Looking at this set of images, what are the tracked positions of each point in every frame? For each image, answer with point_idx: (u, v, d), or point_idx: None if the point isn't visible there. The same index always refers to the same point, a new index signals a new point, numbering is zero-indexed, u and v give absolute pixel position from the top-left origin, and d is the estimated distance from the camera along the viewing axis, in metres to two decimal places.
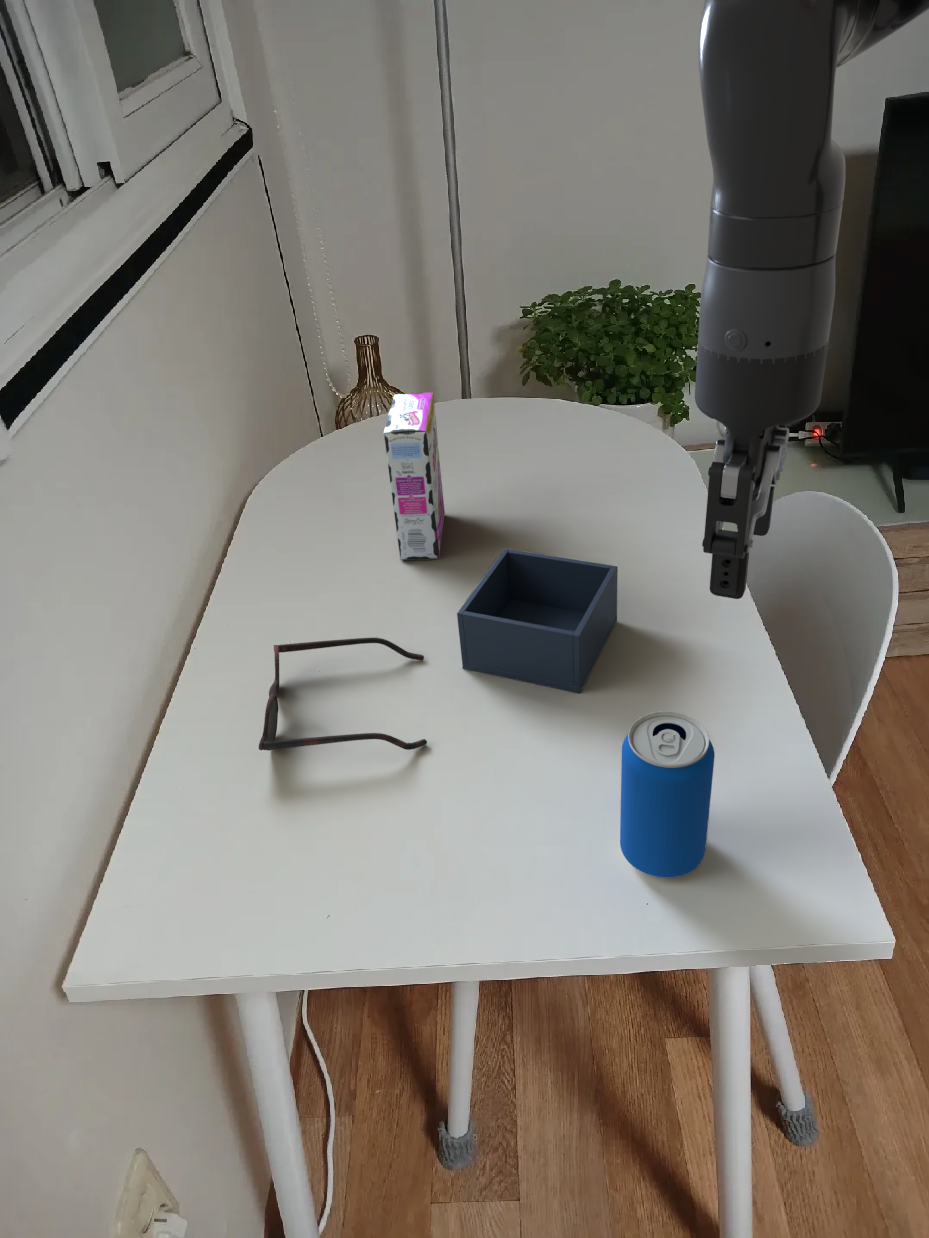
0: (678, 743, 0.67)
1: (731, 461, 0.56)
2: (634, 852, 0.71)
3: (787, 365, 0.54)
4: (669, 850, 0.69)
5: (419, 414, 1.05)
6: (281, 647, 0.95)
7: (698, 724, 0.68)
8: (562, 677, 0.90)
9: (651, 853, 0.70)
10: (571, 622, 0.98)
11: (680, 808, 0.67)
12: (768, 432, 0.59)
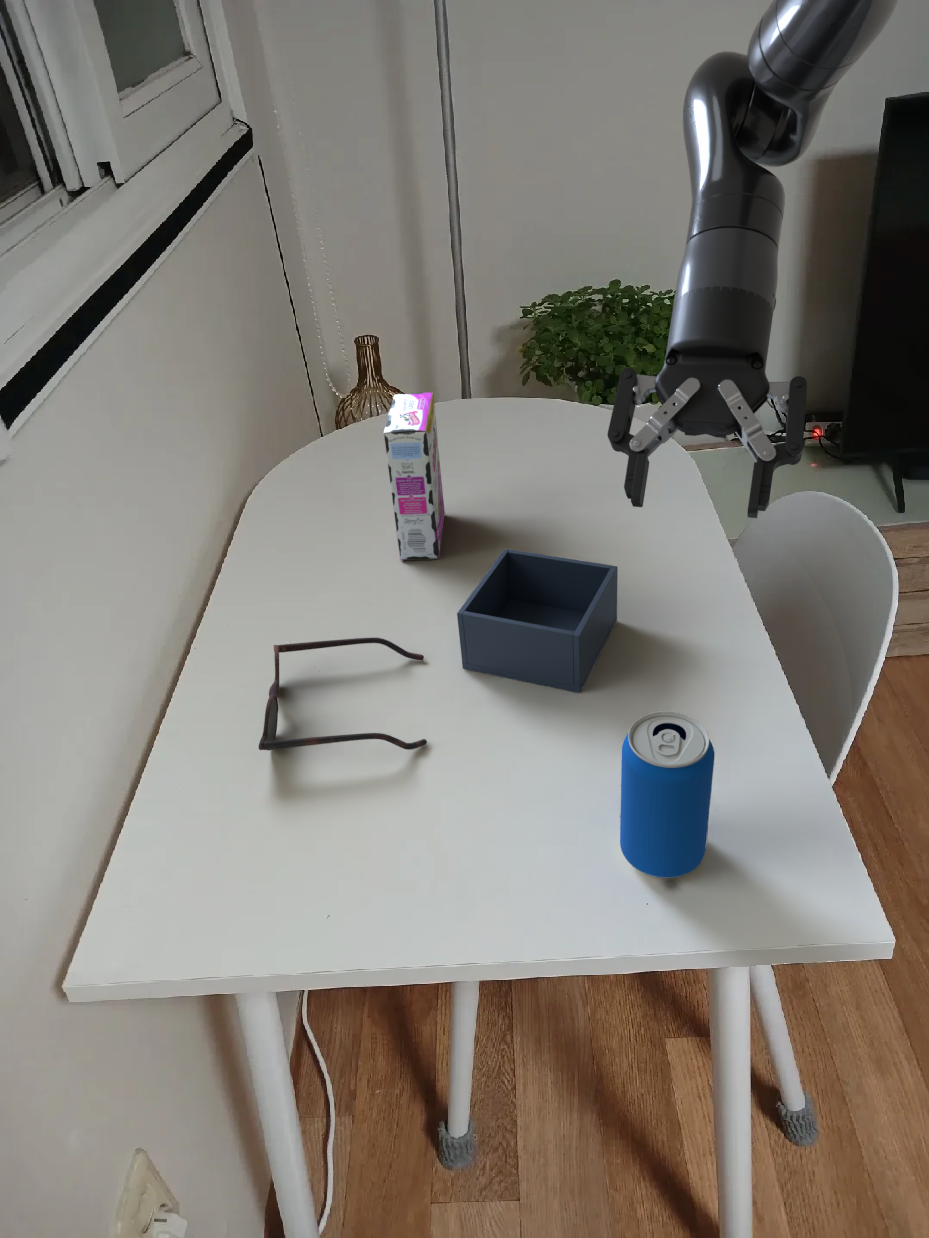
0: (678, 743, 0.67)
1: None
2: (634, 852, 0.71)
3: (678, 302, 0.72)
4: (669, 850, 0.69)
5: (419, 415, 1.05)
6: (281, 647, 0.95)
7: (698, 724, 0.68)
8: (562, 677, 0.90)
9: (651, 853, 0.70)
10: (571, 622, 0.98)
11: (680, 808, 0.67)
12: (696, 372, 0.72)
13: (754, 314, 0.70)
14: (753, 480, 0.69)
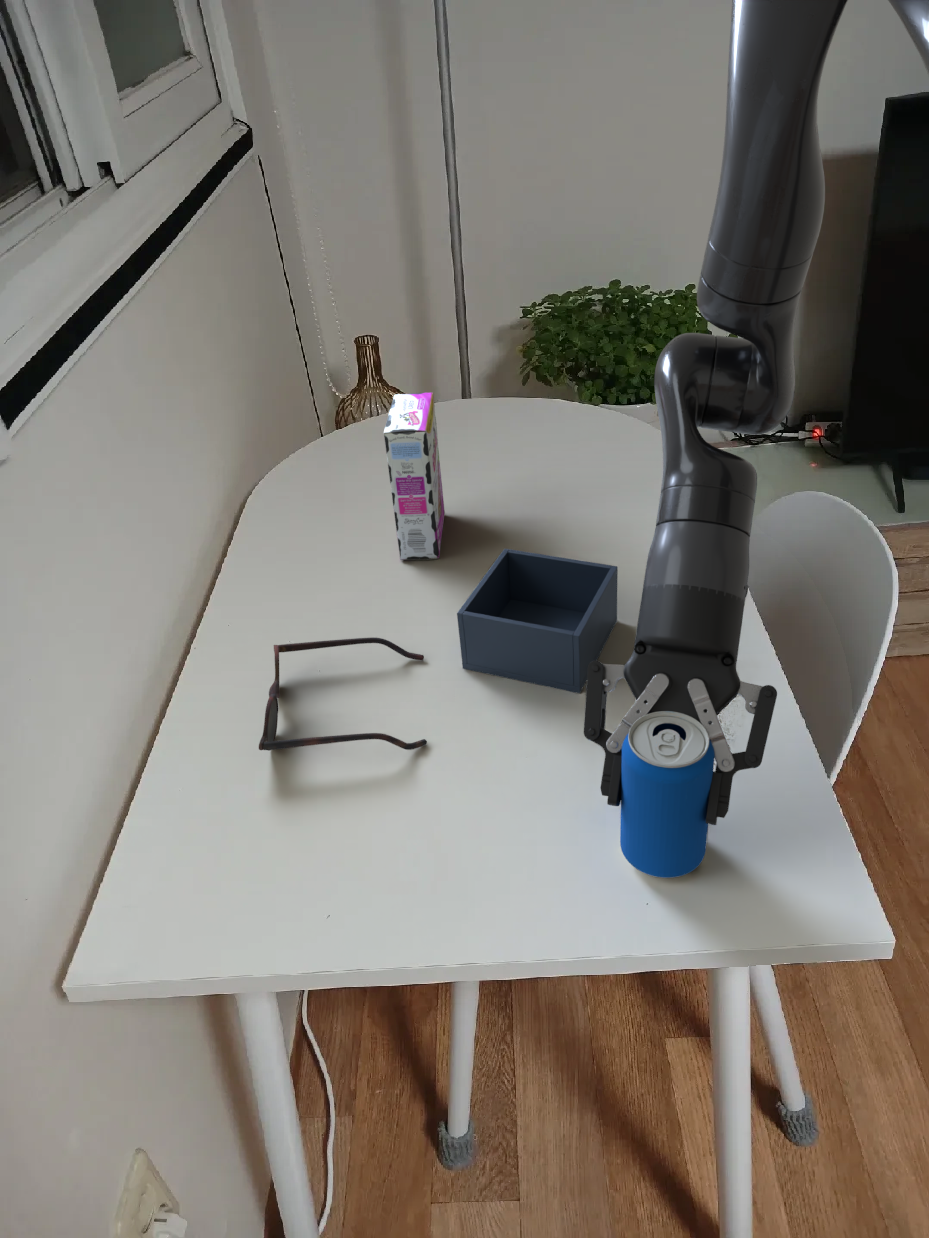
0: (678, 743, 0.67)
1: None
2: (634, 852, 0.71)
3: (647, 591, 0.70)
4: (669, 850, 0.69)
5: (419, 414, 1.05)
6: (281, 647, 0.95)
7: (698, 724, 0.68)
8: (562, 677, 0.90)
9: (651, 853, 0.70)
10: (571, 622, 0.98)
11: (680, 808, 0.67)
12: (665, 664, 0.70)
13: (724, 614, 0.68)
14: (711, 790, 0.68)
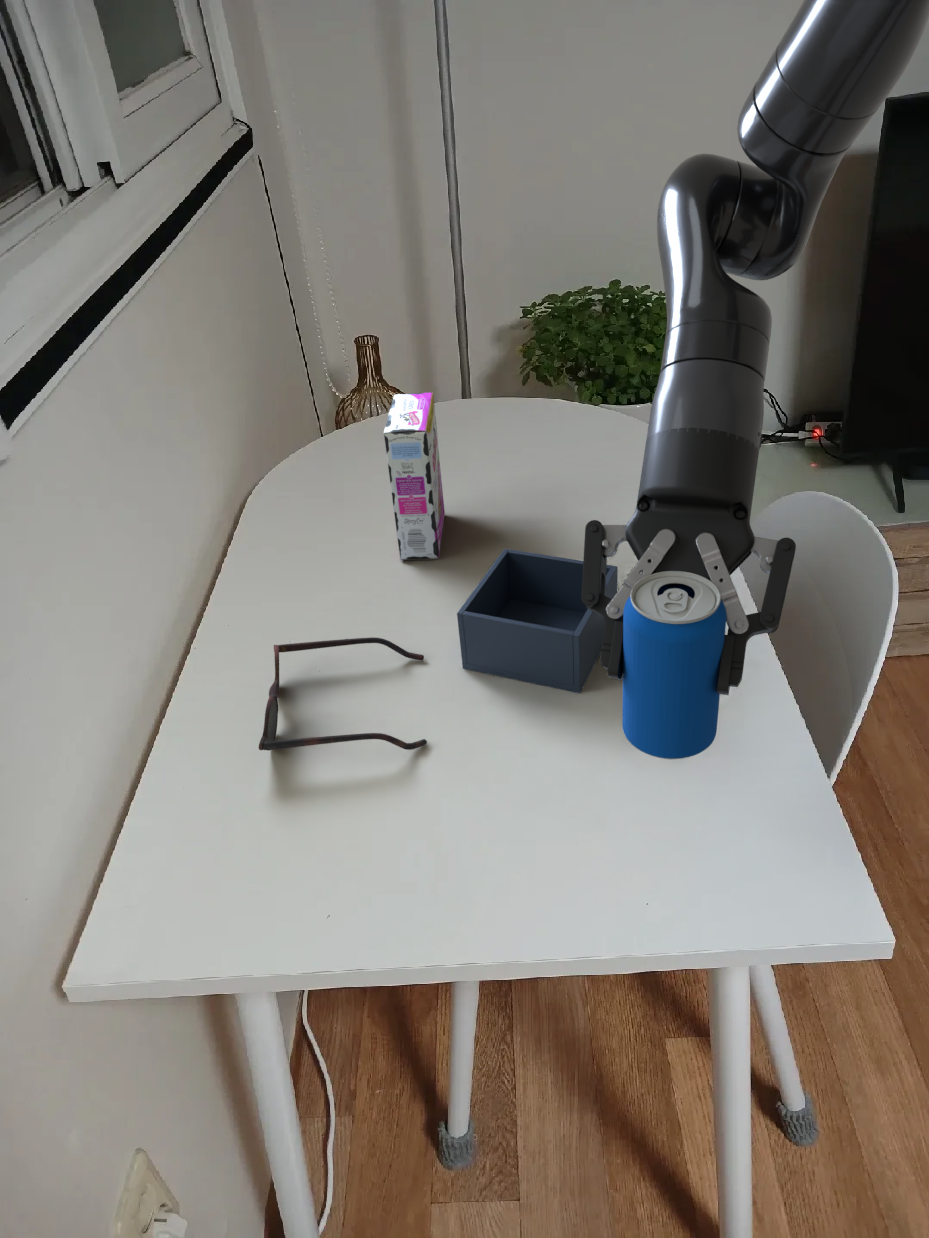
0: (686, 601, 0.60)
1: None
2: (638, 731, 0.64)
3: (650, 441, 0.64)
4: (677, 724, 0.62)
5: (419, 415, 1.05)
6: (281, 647, 0.95)
7: (707, 582, 0.61)
8: (562, 677, 0.90)
9: (657, 730, 0.63)
10: (571, 622, 0.98)
11: (689, 672, 0.60)
12: (671, 521, 0.63)
13: (736, 459, 0.61)
14: (723, 655, 0.61)
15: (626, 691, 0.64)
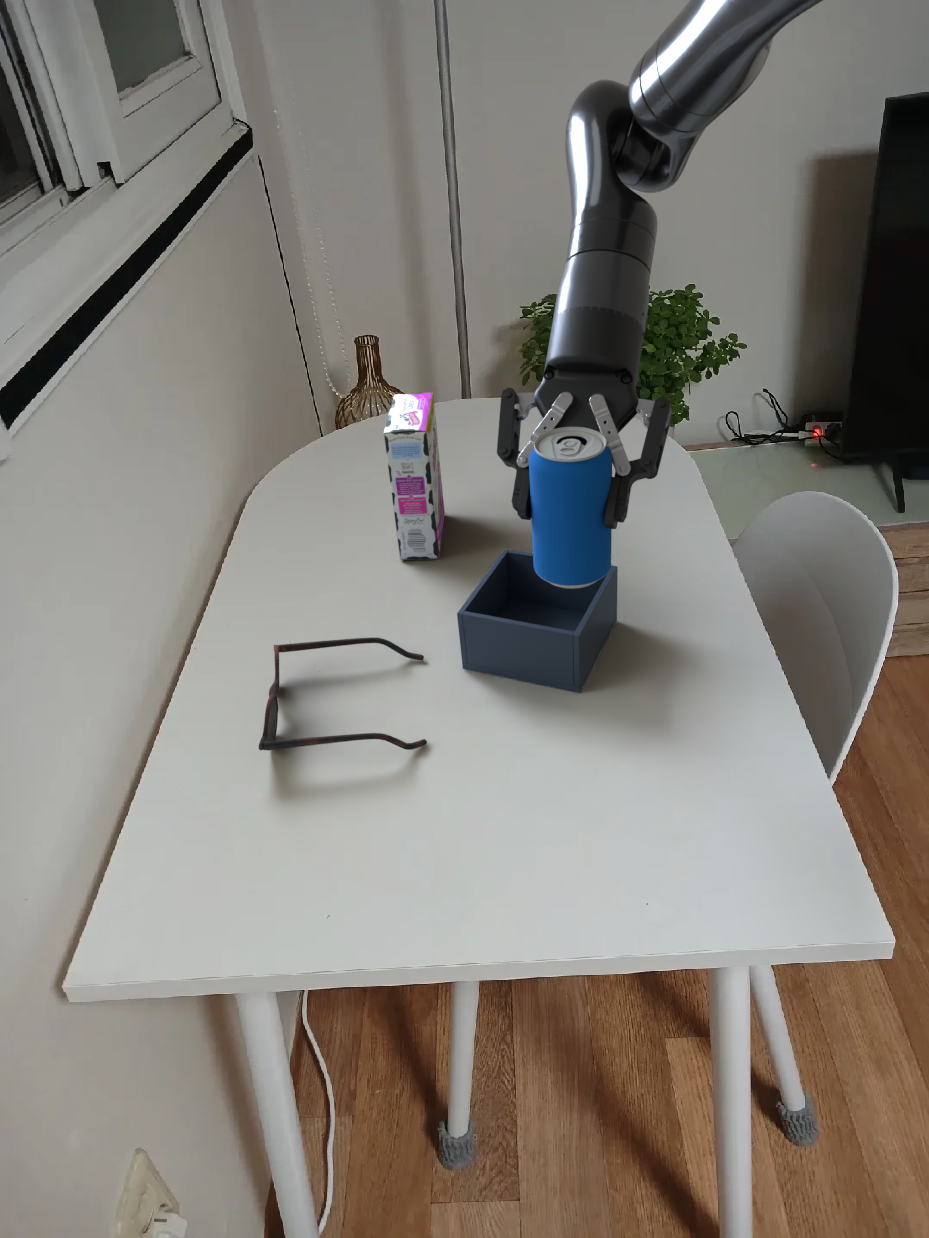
0: (578, 447, 0.73)
1: None
2: (543, 563, 0.77)
3: (554, 320, 0.77)
4: (573, 554, 0.76)
5: (419, 414, 1.05)
6: (281, 647, 0.95)
7: (598, 434, 0.74)
8: (562, 677, 0.90)
9: (558, 559, 0.76)
10: (571, 622, 0.98)
11: (580, 505, 0.73)
12: (571, 387, 0.76)
13: (622, 332, 0.74)
14: (610, 493, 0.74)
15: (533, 529, 0.77)
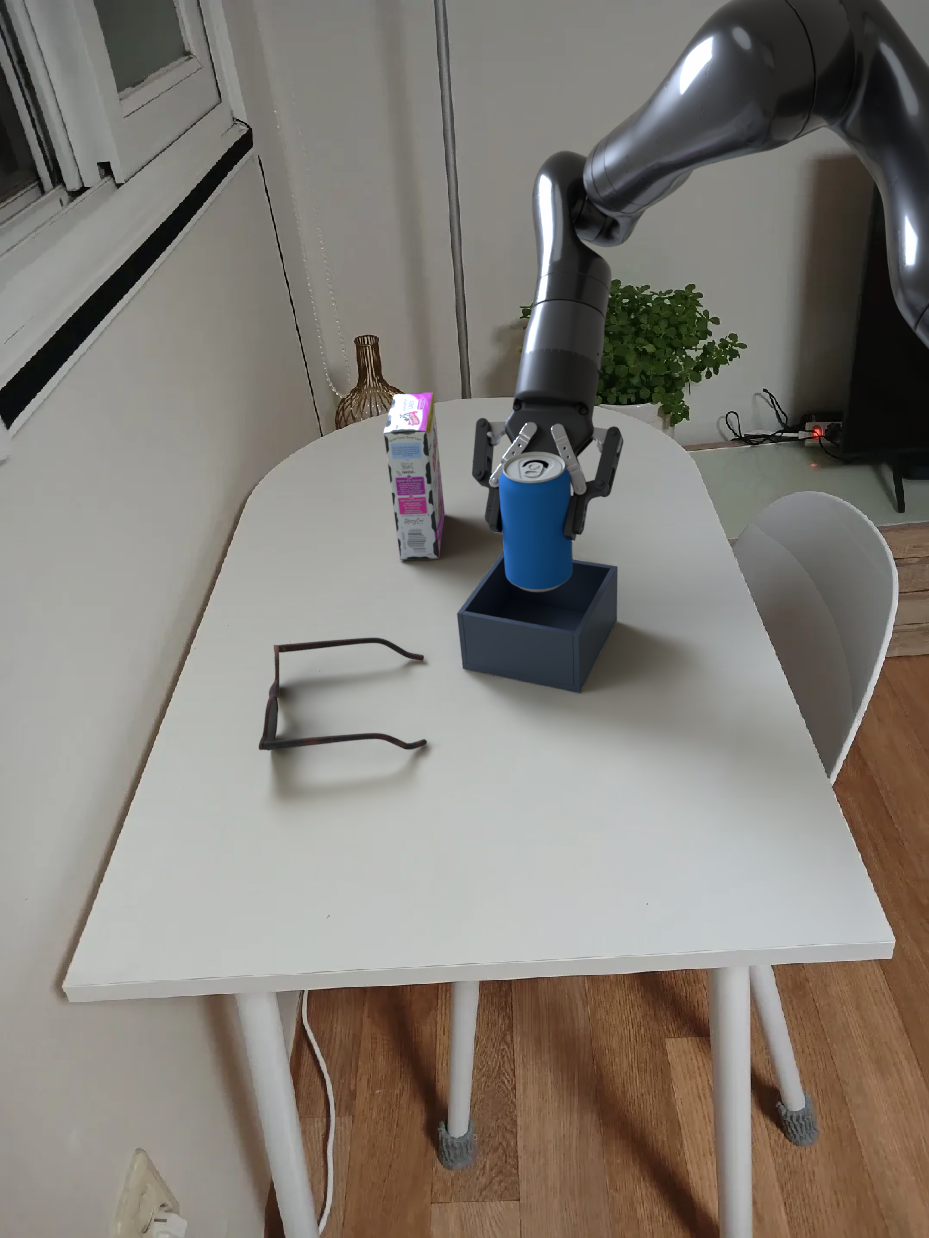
0: (541, 469, 0.85)
1: None
2: (513, 570, 0.89)
3: (521, 360, 0.88)
4: (538, 562, 0.87)
5: (419, 415, 1.05)
6: (281, 647, 0.95)
7: (559, 458, 0.86)
8: (562, 677, 0.90)
9: (525, 567, 0.88)
10: (571, 622, 0.98)
11: (543, 520, 0.85)
12: (536, 417, 0.88)
13: (578, 371, 0.86)
14: (568, 510, 0.86)
15: (504, 540, 0.89)
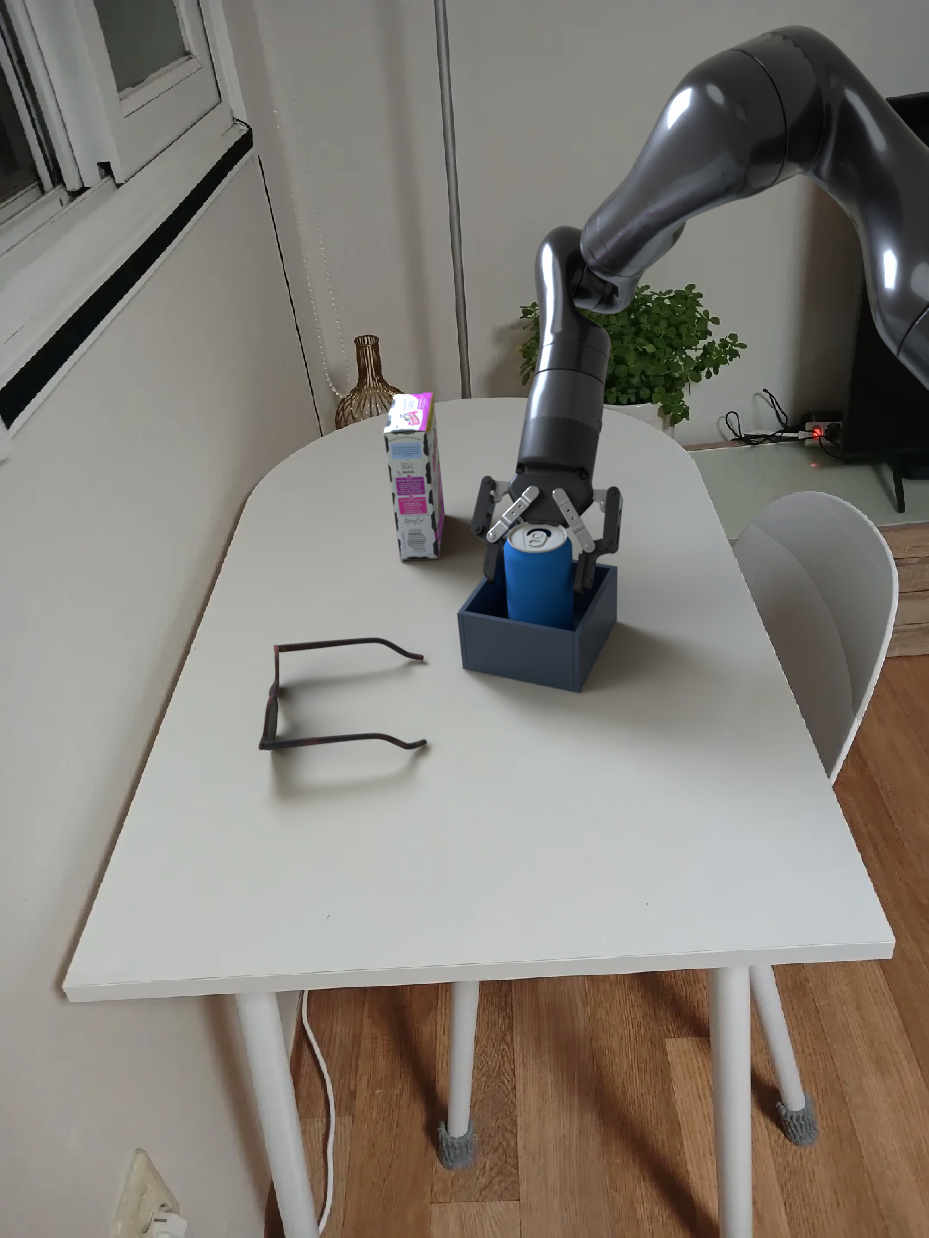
0: (544, 539, 0.89)
1: None
2: None
3: (524, 425, 0.92)
4: None
5: (419, 414, 1.05)
6: (281, 647, 0.95)
7: (561, 527, 0.90)
8: (562, 677, 0.90)
9: None
10: None
11: (546, 587, 0.89)
12: (538, 481, 0.92)
13: (579, 438, 0.90)
14: (578, 567, 0.89)
15: (508, 603, 0.93)
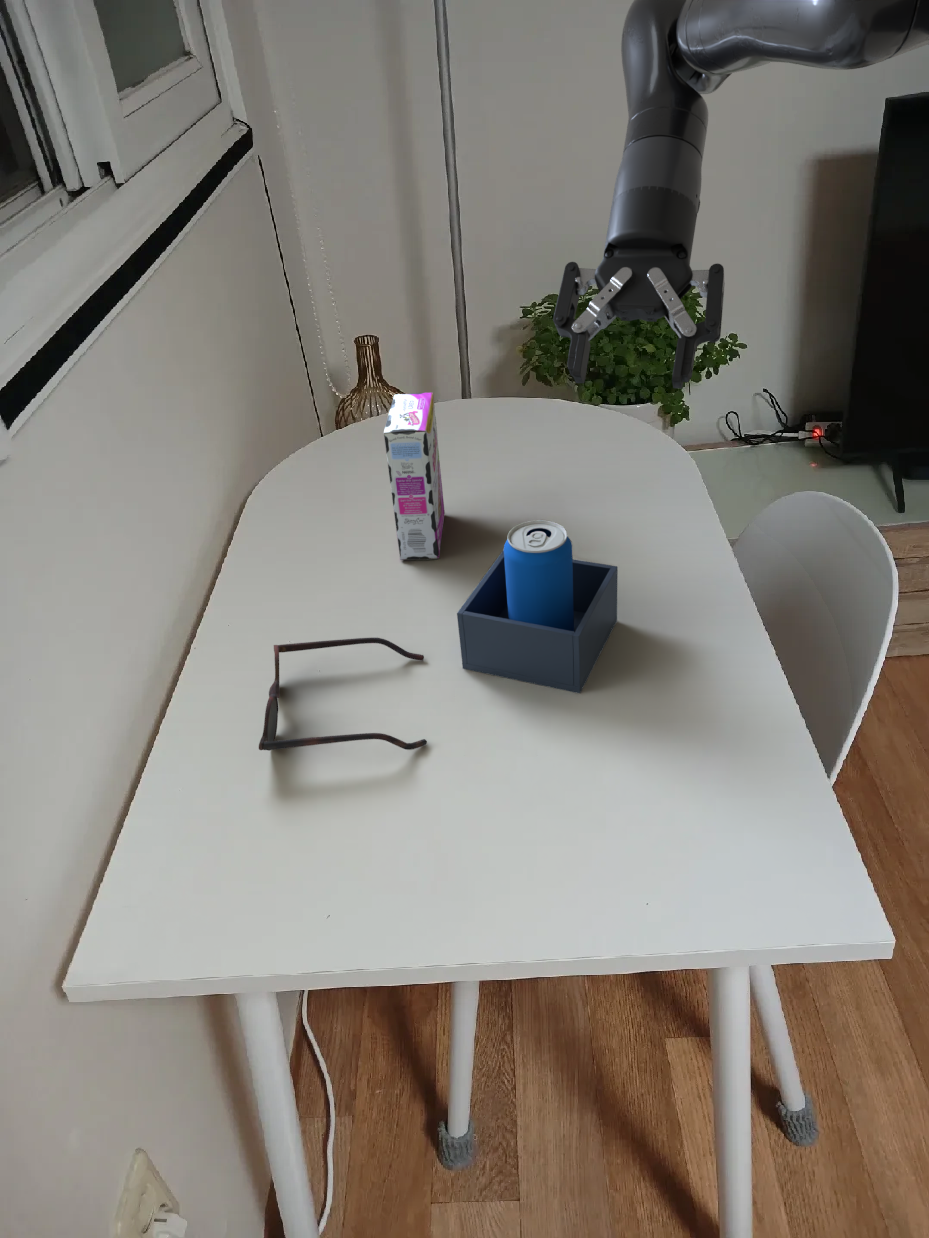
0: (544, 539, 0.89)
1: None
2: None
3: (614, 203, 0.83)
4: None
5: (419, 414, 1.05)
6: (281, 647, 0.95)
7: (561, 527, 0.90)
8: (562, 677, 0.90)
9: None
10: None
11: (545, 587, 0.89)
12: (629, 264, 0.83)
13: (678, 210, 0.80)
14: (677, 353, 0.80)
15: (508, 603, 0.93)
